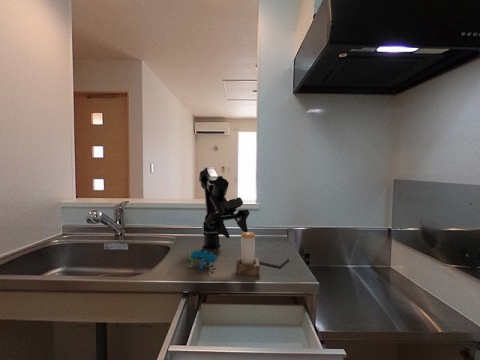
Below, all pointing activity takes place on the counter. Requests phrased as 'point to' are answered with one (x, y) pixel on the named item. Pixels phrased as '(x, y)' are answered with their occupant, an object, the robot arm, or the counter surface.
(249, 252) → the plug
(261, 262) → the mat
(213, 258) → the blue lumpy piece
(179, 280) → the counter surface
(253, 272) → the socket block
